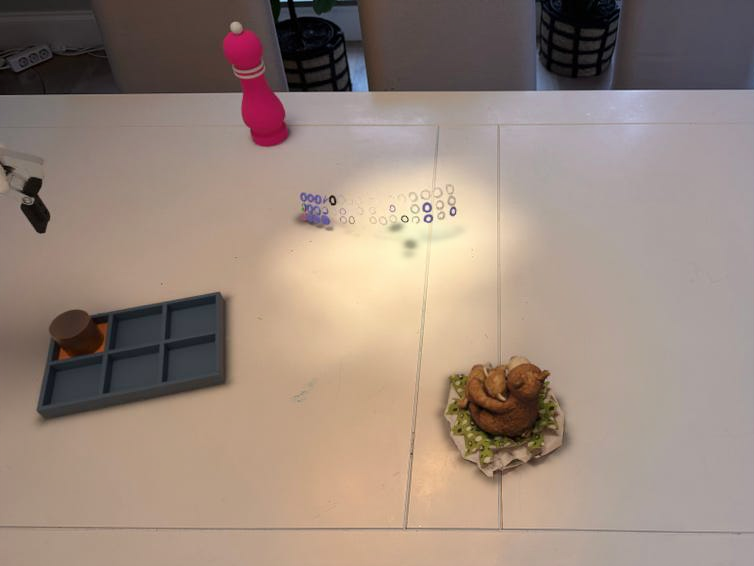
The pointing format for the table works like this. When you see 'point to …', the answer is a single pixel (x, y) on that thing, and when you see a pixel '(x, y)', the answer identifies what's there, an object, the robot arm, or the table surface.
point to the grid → (140, 357)
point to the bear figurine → (503, 414)
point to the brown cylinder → (76, 333)
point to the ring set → (327, 221)
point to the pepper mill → (255, 87)
